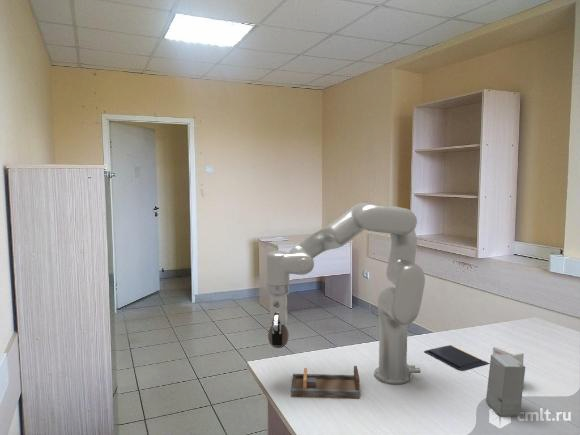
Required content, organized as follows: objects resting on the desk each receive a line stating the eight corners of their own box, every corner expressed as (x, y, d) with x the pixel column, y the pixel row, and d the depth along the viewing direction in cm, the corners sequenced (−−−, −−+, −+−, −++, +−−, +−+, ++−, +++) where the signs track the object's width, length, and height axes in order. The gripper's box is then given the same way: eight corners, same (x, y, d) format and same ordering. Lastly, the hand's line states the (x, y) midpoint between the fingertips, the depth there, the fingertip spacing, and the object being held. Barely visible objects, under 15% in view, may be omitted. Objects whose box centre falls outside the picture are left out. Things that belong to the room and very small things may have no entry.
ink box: (523, 386, 145) (525, 352, 144) (513, 390, 143) (515, 355, 141) (500, 376, 153) (502, 343, 151) (491, 379, 150) (492, 346, 149)
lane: (356, 380, 150) (356, 364, 149) (359, 398, 138) (359, 380, 137) (292, 379, 151) (292, 362, 151) (290, 397, 139) (290, 379, 139)
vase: (286, 350, 141) (285, 324, 141) (265, 349, 143) (265, 323, 142) (290, 342, 148) (290, 318, 147) (271, 341, 150) (270, 316, 149)
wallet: (422, 348, 174) (451, 342, 180) (422, 352, 174) (451, 346, 180) (459, 368, 156) (491, 361, 162) (459, 373, 156) (490, 365, 162)
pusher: (315, 378, 149) (315, 368, 149) (315, 391, 140) (315, 380, 140) (304, 378, 149) (304, 368, 149) (303, 391, 141) (303, 380, 140)
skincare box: (485, 402, 135) (487, 353, 134) (507, 401, 136) (509, 352, 134) (500, 417, 127) (502, 365, 125) (523, 416, 127) (526, 364, 126)
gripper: (287, 296, 135) (287, 351, 136) (291, 282, 152) (291, 331, 154) (263, 295, 135) (263, 350, 137) (270, 281, 152) (270, 331, 154)
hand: (278, 340), depth 145 cm, fingers closed on vase, 6 cm apart
